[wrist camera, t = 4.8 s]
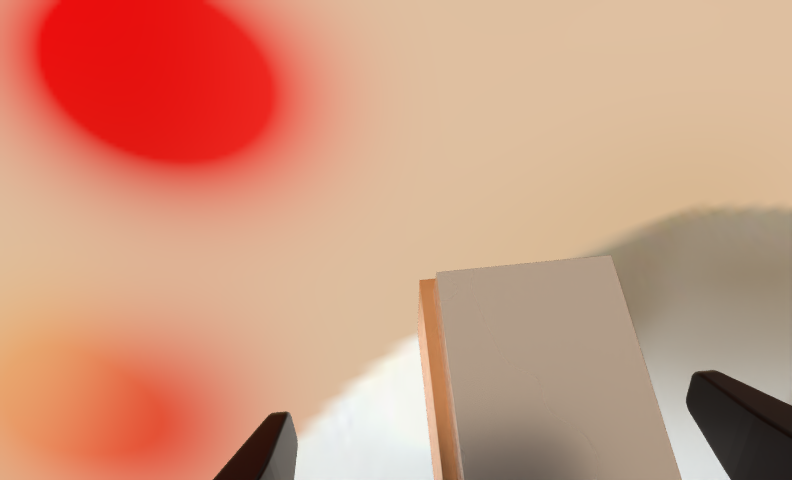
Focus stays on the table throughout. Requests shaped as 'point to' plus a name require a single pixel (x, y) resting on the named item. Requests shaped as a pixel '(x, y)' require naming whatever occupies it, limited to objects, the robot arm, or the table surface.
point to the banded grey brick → (538, 376)
